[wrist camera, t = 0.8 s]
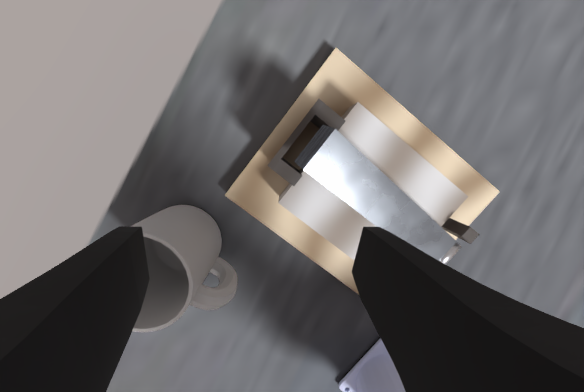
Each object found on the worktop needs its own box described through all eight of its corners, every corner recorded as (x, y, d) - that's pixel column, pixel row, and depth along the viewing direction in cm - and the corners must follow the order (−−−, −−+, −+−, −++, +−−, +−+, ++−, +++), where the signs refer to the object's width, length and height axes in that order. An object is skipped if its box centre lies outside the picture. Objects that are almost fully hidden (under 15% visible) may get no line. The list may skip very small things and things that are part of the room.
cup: (168, 189, 26) (108, 211, 17) (261, 238, 27) (249, 283, 18) (137, 252, 27) (65, 303, 18) (227, 296, 28) (201, 365, 19)
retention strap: (444, 235, 24) (465, 248, 22) (421, 260, 24) (439, 275, 22) (322, 124, 17) (336, 129, 15) (293, 161, 18) (304, 170, 16)
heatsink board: (490, 189, 26) (546, 201, 21) (382, 308, 29) (406, 348, 23) (333, 52, 24) (348, 22, 18) (227, 193, 26) (210, 206, 20)
